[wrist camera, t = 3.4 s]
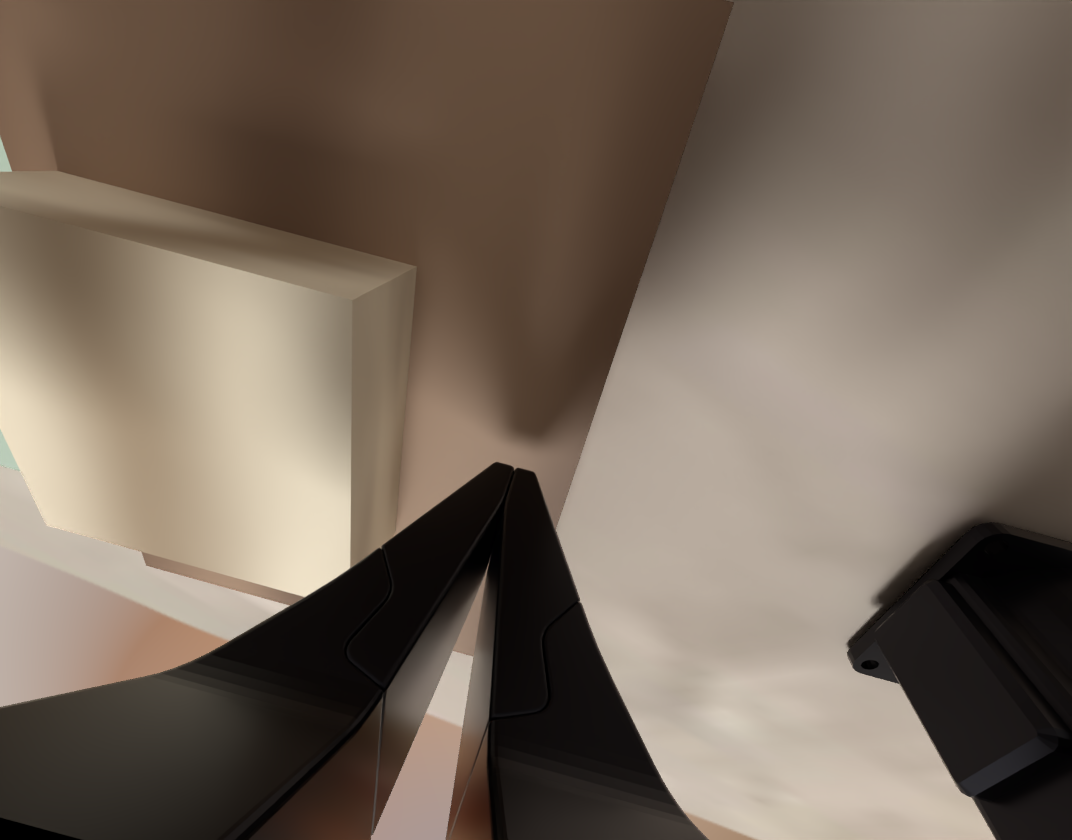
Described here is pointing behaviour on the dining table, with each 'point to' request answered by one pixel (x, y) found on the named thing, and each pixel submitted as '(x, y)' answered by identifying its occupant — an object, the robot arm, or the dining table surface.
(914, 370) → the dining table surface
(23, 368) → the birch block
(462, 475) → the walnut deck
